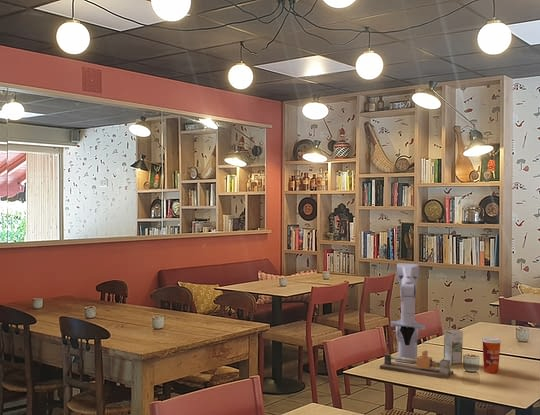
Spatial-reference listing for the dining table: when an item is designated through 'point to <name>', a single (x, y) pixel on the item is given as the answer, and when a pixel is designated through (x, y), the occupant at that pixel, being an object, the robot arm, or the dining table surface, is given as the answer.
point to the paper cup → (491, 354)
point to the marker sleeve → (424, 360)
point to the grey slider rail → (413, 369)
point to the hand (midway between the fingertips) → (407, 344)
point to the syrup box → (453, 345)
